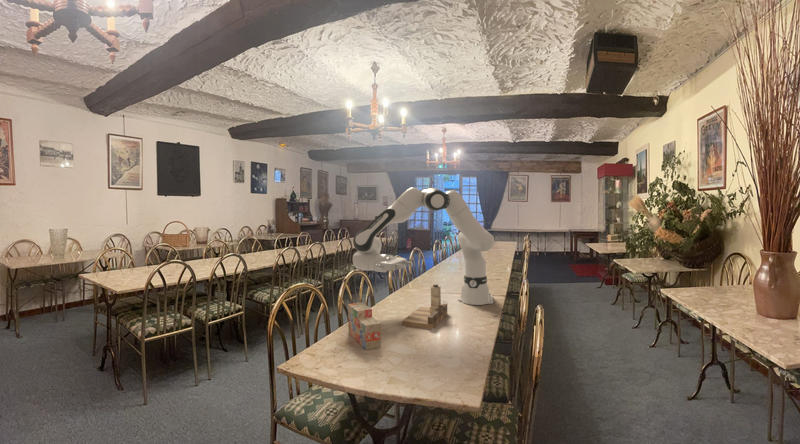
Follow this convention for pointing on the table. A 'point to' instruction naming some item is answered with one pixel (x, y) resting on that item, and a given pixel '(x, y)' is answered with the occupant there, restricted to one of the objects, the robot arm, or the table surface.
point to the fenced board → (425, 317)
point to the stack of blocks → (364, 326)
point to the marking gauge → (435, 297)
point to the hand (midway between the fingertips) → (409, 265)
